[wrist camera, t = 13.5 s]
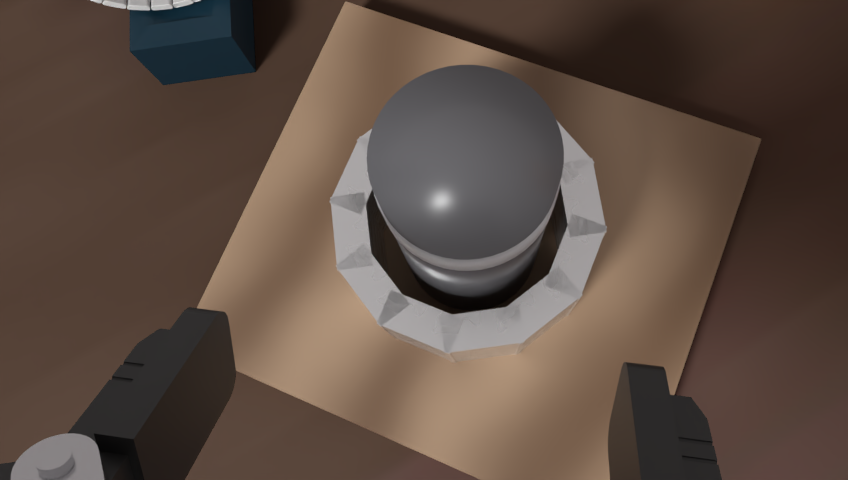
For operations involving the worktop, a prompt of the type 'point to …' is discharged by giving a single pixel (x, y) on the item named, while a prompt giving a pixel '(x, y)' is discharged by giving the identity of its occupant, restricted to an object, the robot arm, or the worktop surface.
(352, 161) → the notched white ring
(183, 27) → the watch
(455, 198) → the grey cylinder
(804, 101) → the worktop surface
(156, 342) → the robot arm
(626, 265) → the mount board
